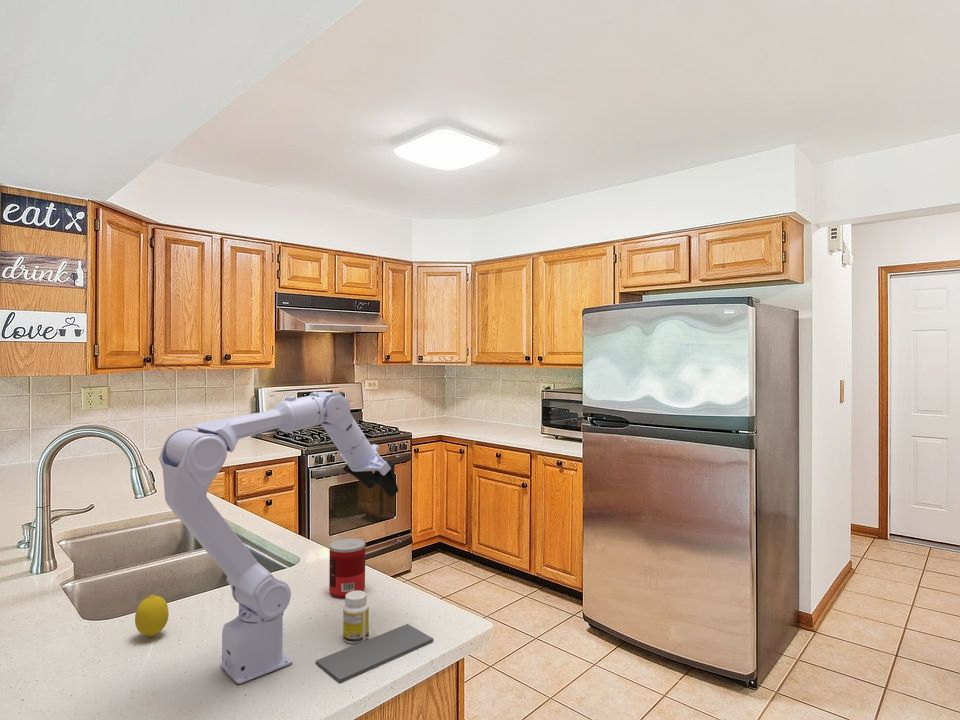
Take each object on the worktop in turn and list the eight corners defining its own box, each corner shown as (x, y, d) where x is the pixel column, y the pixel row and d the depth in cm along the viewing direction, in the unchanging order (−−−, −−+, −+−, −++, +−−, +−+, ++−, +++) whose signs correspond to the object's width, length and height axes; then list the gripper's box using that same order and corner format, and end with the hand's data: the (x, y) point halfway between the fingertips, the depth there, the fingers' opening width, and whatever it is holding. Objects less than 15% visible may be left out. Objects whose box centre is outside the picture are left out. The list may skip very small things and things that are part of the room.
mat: (339, 683, 95) (339, 679, 95) (315, 663, 101) (315, 660, 101) (433, 641, 109) (433, 638, 109) (407, 626, 115) (407, 623, 115)
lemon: (127, 641, 108) (128, 598, 108) (153, 627, 113) (154, 587, 113) (149, 646, 106) (150, 603, 106) (175, 633, 111) (175, 591, 111)
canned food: (372, 589, 132) (372, 542, 132) (346, 602, 126) (347, 552, 126) (347, 582, 137) (348, 535, 136) (321, 593, 130) (322, 545, 130)
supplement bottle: (357, 629, 114) (358, 587, 113) (373, 637, 111) (374, 594, 110) (337, 639, 110) (338, 595, 110) (353, 647, 107) (354, 602, 107)
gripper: (386, 434, 111) (417, 483, 118) (345, 423, 122) (376, 468, 128) (361, 460, 108) (394, 509, 114) (321, 446, 118) (353, 491, 124)
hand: (383, 489), depth 121 cm, fingers open, 7 cm apart
